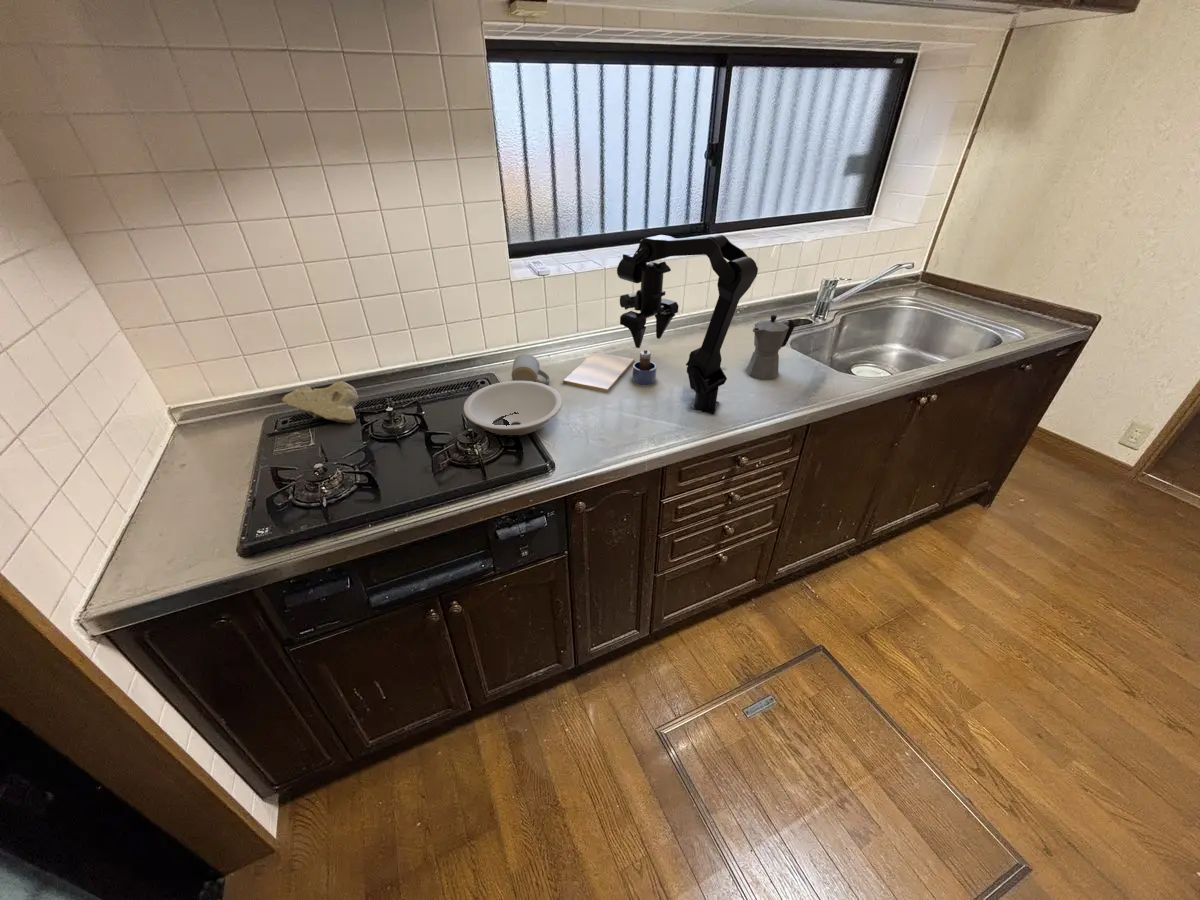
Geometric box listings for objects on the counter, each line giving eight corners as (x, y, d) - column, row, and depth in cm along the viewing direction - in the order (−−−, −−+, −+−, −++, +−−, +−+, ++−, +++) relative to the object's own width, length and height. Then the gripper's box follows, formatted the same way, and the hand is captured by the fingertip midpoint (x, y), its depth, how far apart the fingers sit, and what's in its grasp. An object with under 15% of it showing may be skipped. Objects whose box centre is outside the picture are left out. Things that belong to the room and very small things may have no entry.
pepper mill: (647, 382, 145) (649, 352, 140) (637, 380, 146) (638, 350, 141) (650, 378, 147) (652, 348, 142) (640, 376, 148) (642, 346, 143)
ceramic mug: (512, 390, 142) (509, 365, 138) (514, 377, 149) (512, 353, 144) (549, 389, 143) (548, 365, 138) (550, 376, 149) (549, 352, 145)
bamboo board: (607, 393, 141) (607, 389, 140) (563, 384, 145) (563, 380, 145) (634, 362, 157) (634, 358, 157) (593, 355, 162) (593, 351, 161)
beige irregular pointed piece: (376, 417, 134) (343, 373, 134) (370, 409, 127) (335, 363, 127) (324, 450, 129) (289, 404, 129) (314, 444, 122) (278, 396, 122)
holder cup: (651, 388, 143) (652, 372, 140) (628, 383, 145) (629, 368, 143) (658, 378, 148) (659, 363, 145) (636, 374, 151) (637, 359, 148)
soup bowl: (582, 425, 126) (582, 403, 123) (504, 465, 113) (501, 440, 109) (525, 393, 141) (523, 371, 137) (449, 424, 127) (444, 401, 123)
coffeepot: (755, 384, 146) (767, 324, 135) (734, 371, 152) (744, 313, 142) (795, 373, 151) (809, 315, 141) (773, 361, 158) (785, 305, 148)
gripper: (649, 273, 141) (646, 326, 150) (605, 288, 130) (604, 344, 139) (682, 282, 135) (676, 336, 144) (637, 297, 124) (635, 356, 133)
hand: (648, 342), depth 140 cm, fingers open, 9 cm apart
